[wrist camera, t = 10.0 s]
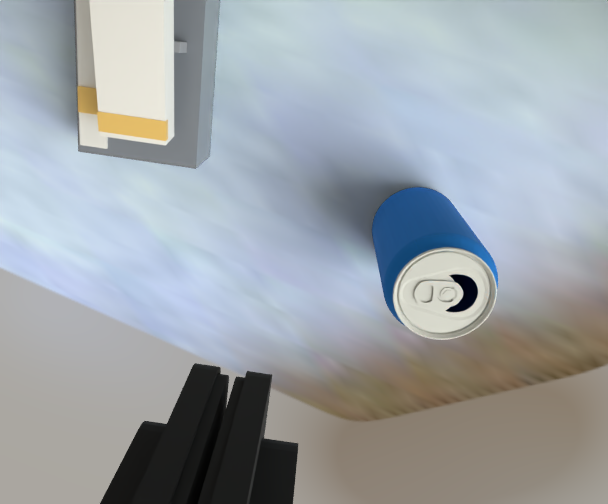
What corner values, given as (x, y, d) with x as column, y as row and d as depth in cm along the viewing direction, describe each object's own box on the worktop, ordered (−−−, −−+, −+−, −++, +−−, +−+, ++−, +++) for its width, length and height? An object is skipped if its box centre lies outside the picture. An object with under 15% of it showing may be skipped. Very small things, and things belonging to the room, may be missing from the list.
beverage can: (452, 265, 41) (496, 348, 29) (369, 263, 41) (382, 344, 30) (461, 184, 38) (513, 241, 27) (373, 183, 39) (388, 239, 27)
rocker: (174, -66, 27) (163, -67, 26) (175, 136, 33) (166, 145, 31) (97, -77, 27) (81, -79, 26) (111, 127, 33) (99, 136, 31)
